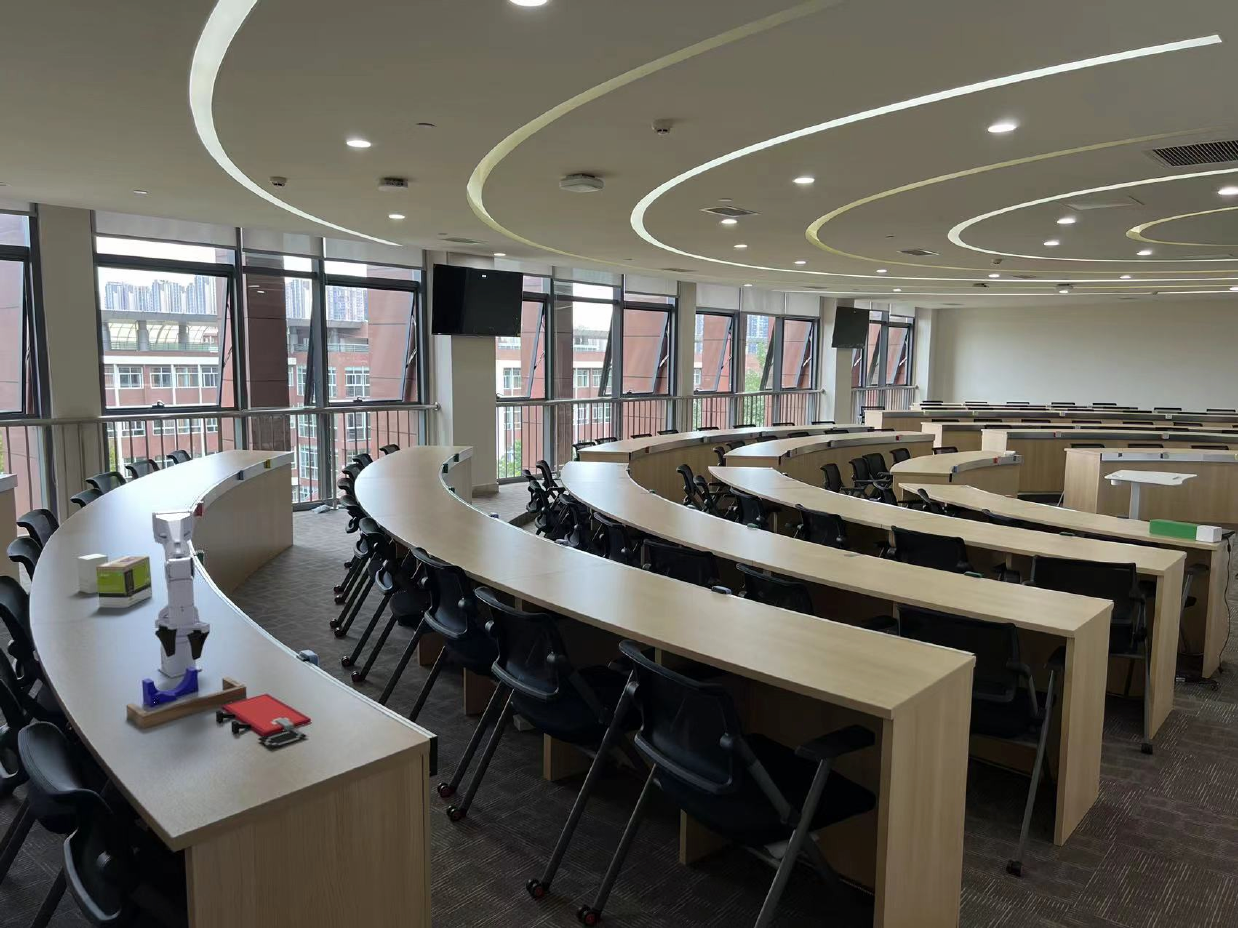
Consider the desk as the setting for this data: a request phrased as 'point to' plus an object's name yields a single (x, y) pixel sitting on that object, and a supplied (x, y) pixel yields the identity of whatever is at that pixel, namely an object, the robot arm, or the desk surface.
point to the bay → (188, 705)
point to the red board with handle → (265, 719)
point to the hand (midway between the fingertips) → (183, 657)
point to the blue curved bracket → (161, 697)
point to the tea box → (124, 581)
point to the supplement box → (89, 571)
